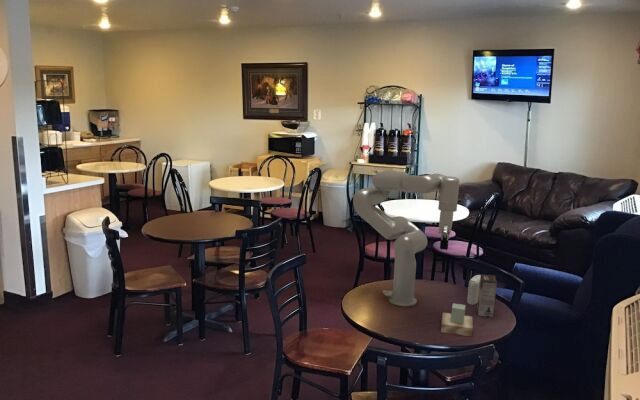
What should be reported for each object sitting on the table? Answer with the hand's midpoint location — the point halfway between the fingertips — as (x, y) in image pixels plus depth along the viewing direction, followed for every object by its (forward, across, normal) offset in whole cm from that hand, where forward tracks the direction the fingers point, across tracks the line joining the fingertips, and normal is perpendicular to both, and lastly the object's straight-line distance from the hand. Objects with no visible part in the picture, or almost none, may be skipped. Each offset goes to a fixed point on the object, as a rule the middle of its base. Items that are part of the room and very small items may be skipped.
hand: (444, 246), depth 235 cm
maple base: (+31, +13, +8) cm, 34 cm away
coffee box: (+31, -8, +20) cm, 37 cm away
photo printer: (+31, -20, +16) cm, 40 cm away
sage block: (+27, +13, +8) cm, 31 cm away
